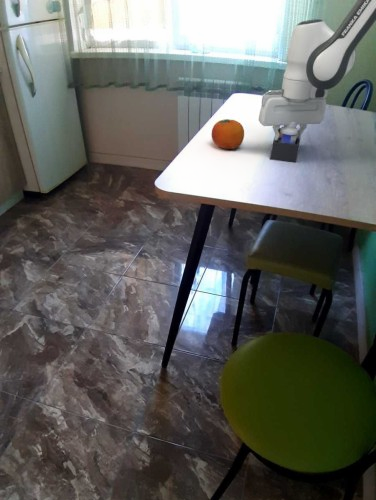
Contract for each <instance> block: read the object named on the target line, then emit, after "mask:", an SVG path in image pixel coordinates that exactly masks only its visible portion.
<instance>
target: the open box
mask: <svg viewBox="0 0 376 500" xmlns="http://www.w3.org/2000/svg"><path fill="white" fill-rule="evenodd" d="M280 129H281V127H280ZM280 129H278V132H279V133H280ZM300 143H301V139H299V140H296V142H295V144H288V143H280V142H278V141H276V140H274V139H273V140H272V144H271V145H272V146H271V150H270V156H269V160H272V161H279V162H280V161H281V162H288V163H294V164H295V163H297V159H298V154H299V150H300Z"/></svg>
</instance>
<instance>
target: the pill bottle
mask: <svg viewBox="0 0 376 500" xmlns="http://www.w3.org/2000/svg"><path fill="white" fill-rule="evenodd" d="M297 126H298V125H296V122H291V124H290V125H282V126H280V128H281V129H280V134H281V135H282V136H281V140H279V141H278V142H280V143H288V144H295V142H296V138H297V133H298V130H299V128H297Z"/></svg>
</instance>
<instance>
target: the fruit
mask: <svg viewBox="0 0 376 500" xmlns="http://www.w3.org/2000/svg"><path fill="white" fill-rule="evenodd" d="M244 139H245V129H244V126H243V125H242V124H241V122H239V121H237V120H235V119H228V118H226V119H225V118H224V119H222V120H218V121H217V122H215V124H214V125H213V127H212V129H211V140H212V141H213V143H214V144H215V145H216V146H218V147H219V148H222V149H226V150H234V149H236V148H238V147H240V146H241V145H242V143H243V141H244Z"/></svg>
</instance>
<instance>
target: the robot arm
mask: <svg viewBox="0 0 376 500" xmlns="http://www.w3.org/2000/svg"><path fill="white" fill-rule="evenodd" d="M375 23H376V0H357V1H356V2H355V3H354V5H353V6H352V8H351V9H350V11H348V13H347V14H346V16H345V17H344V20H342V21H341V23H340V25H339V26H338V27H337V29H336V30H335V31H333V29H331V28H330V27H329V26H328V25H327V24H326V22H325V20H323V19H321V18H318V19H317V18H315V19H307V20H303V21H300V22H299V23H297V24H296V25H295V26H294V27H293V30H292V32H291V36H290V40H289V44H288V49H287V54H286V68H285V71H284V73H283V77H282V84H281V89H269V90H267V91H266V92H264V94H263V95H262V97H261V107H260V110H259V114H258V122H259V124H260V125H261V126H263V127H272V130H273V132H274V136H273V140H276V141H279V140H281V136H282V135H281V134H280V133H279V132H278V129H280V128H281V126H284V125H290V124H291V122H296V125H297V126H299V128H298V133H297V138H296V140H299V139H300V140H301V139H302V135H303V133H304V132H305V130H306V129H307V127H308V125H320V124H321V123H322V122H323V121H324V119H325V115H326V109H327V99H326V98H327V96H328V94H329V90H330V89H332V88H335V87H336V86H337V85H338V84H339V83H340V82H341V81H342V80H343V78H345V76H347V74H348V73H349V72H350V71H351V70H352V68H353V67H354V64H355V62H356V58H357V51H356V48H357V47H358V46H359V45H360V43H361V41H362V40H363V39H364V38H365V37H366V36H367V34H368V32H369V31H370V30H371V29H372V28H373V26H374V25H375Z"/></svg>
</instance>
